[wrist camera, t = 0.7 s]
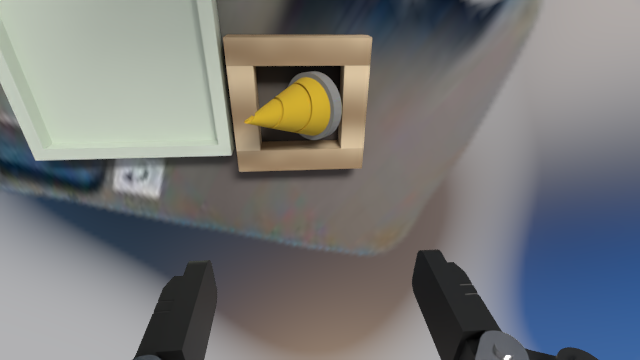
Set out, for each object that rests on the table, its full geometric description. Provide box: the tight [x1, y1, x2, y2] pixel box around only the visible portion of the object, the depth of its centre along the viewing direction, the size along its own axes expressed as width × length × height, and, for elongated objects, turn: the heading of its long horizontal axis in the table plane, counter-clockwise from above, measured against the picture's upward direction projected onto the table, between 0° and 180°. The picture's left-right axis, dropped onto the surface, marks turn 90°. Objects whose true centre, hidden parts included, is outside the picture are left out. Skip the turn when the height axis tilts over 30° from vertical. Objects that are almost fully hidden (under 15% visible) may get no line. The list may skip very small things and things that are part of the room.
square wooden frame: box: [223, 34, 372, 172], centre depth 28 cm, size 11×11×2 cm
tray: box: [0, 0, 235, 161], centre depth 25 cm, size 16×16×2 cm
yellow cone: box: [244, 71, 342, 140], centre depth 26 cm, size 5×5×10 cm
